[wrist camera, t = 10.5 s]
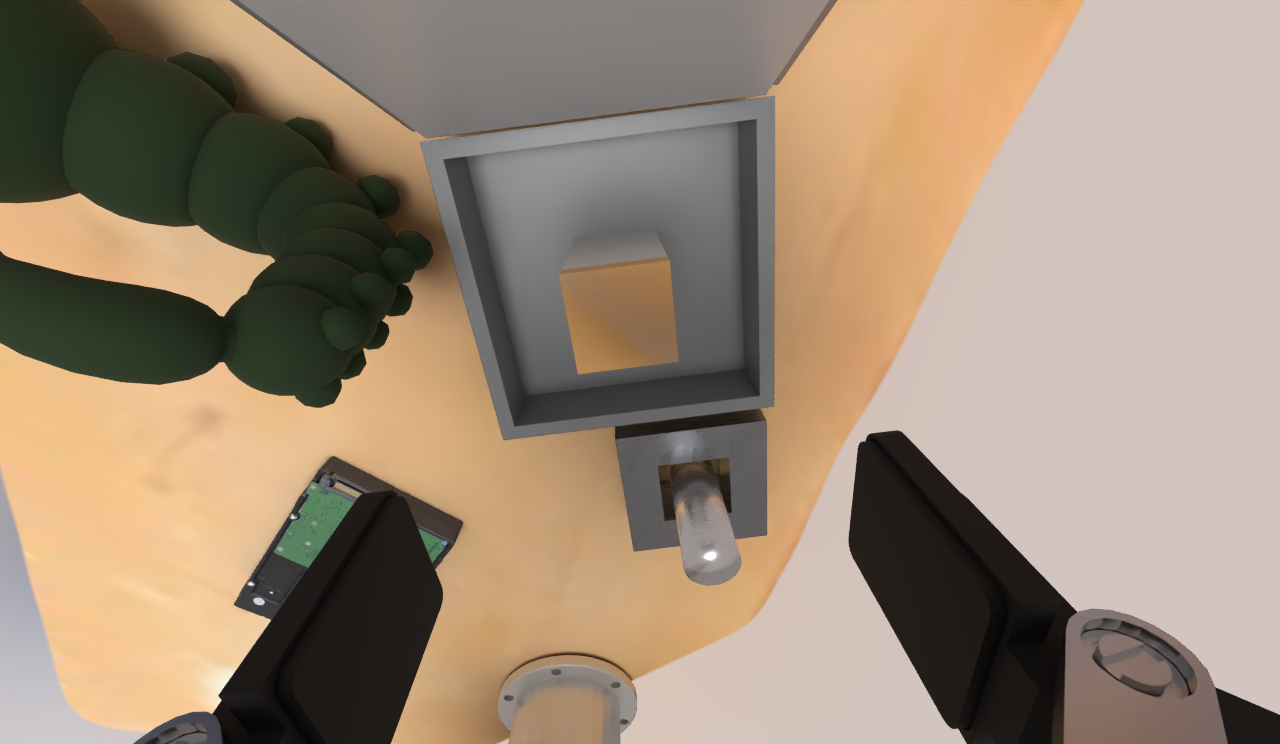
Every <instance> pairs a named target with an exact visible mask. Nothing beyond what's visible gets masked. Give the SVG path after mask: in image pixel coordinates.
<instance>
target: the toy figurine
mask: <svg viewBox="0 0 1280 744" xmlns="http://www.w3.org/2000/svg"><path fill="white" fill-rule="evenodd" d="M236 97H237V93H236V91H235V88H234V85H233V82H232V79H231V78H230V76H229V75H228V74H227V73H226V72H224V71H223V70H222V69H221V68H220V67H219V66H218V65H217V64H215V63H214V62H213V61H212V60H211V59H209V58H205V57H202V56H199V55H195V54H192V53H188V52H185V53H182V54H179V55H177V56H174V57H171V58H168V61H164V60H162V59H159V58H157V57H153V56H150V55H146V54H142V53H137V52H132V51H127V50H122V49H119V47H118V46H117V44H116V43H115V41H114V40H113V39H112V37H111V36H110V34H109V33H108V32H107V30H106V29H105V28H104V27H103V26H102V24H101V23H100V22H99V21H98V20H97V18H96V17H95V16H94V15H93V14H92V13H91V12H90V11H89V10H88V9H87V8H86V7H85V6H84V5H83V4H82V3H81V2H80V1H79V0H0V203H29V202H41V201H47V200H53V199H60V198H63V197H67V196H70V195H74V194H78V193H81V194H82V195H84V196H85V197H87V198H88V199H89V200H91V201H92V202H94V203H95V204H97V205H99V206H101V207H103V208H105V209H107V210H109V211H111V212H113V213H115V214H117V215H119V216H123V217H126V218H129V219H133V220H136V221H140V222H143V223H149V224H156V225H164V226H172V227H179V226H194V225H198V226H199V227H201V228H202V229H203V230H204V231H205V232H207V233H208V234H210V235H211V236H213V237H215V238H216V239H218V240H219V241H221V242H223V243H226V244H228V245H231V246H233V247H236V248H239V249H241V250H244V251H247V252H250V253H256V254H263V255H270V256H271V257H272V258H273V259H275V262H274V263H272V264H271V265H269V266H268V267H267V268H266V269H265V270H263V271H262V272H261V273H260V274H259V275H258V276H257V277H256V278H255V280H254V281H253V283H252V285H251V287H250V289H249V291H248V292H247V294H246V295H244V296H242V297H241V298H240V299H238V300H237V301H236V302H235V303H234V304H233V305H232V306H231V307H230V309H229V310H228V312H227V313H226V314H225V316H224V317H223V316H219V315H218V314H217V313H216V312H215V311H214V310H212V309H211V308H210V307H209V306H207V305H205V304H203V303H201V302H199V301H196V300H194V299H192V298H190V297H186V296H183V295H180V294H176V293H173V292H169V291H166V290H161V289H156V288H150V287H144V286H139V285H133V284H126V283H119V282H112V281H105V280H100V279H94V278H89V277H83V276H78V275H74V274H70V273H66V272H62V271H58V270H54V269H50V268H46V267H42V266H38V265H34V264H31V263H27V262H23V261H19V260H15V259H12V258H9V257H7V256H5V255H4V254H3V253H2V252H1V251H0V343H2V344H3V345H5V346H7V347H9V348H11V349H13V350H14V351H16V352H18V353H20V354H22V355H24V356H27V357H30V358H33V359H36V360H39V361H42V362H44V363H47V364H50V365H53V366H56V367H59V368H62V369H65V370H68V371H70V372H74V373H79V374H84V375H89V376H94V377H99V378H104V379H109V380H114V381H119V382H128V383H142V384H157V385H161V384H167V383H173V382H178V381H184V380H189V379H192V378H194V377H197V376H199V375H202V374H204V373H207V372H208V371H209V370H211V369H212V368H213V367H215V366H216V365H217V364H218V363H219V362H225V364H226V365H227V367H228V369H229V370H230V371H231V372H232V373H233V374H234V375H235V376H236V377H237V378H238V379H239V380H241V381H242V382H244V383H245V384H247V385H249V386H250V387H252V388H254V389H257V390H260V391H262V392H265V393H269V394H274V395H279V396H294V395H295V397H296V399H298V400H299V401H300V402H301V403H302V404H304V405H305V406H310V407H316V408H322V407H324V406H327V405H330V404H333V403H334V402H335V400H336V399H337V397H338V395H339V393H340V391H341V387H342V384H341V379H345V380H347V379H350V378H353V377H355V376H358V375H360V373H361V371H362V370H363V368H364V367H365V365H366V364H367V363H366V359H365V355H364V351H363V349H364V348H366V349H369V350H370V349H379V348H380V347H381V346H383V345H384V344H385V342H386V340H387V337H388V335H389V327H388V325H387V324H386V323H385V322H383V321H382V320H383V319H384V318H385V316H386V315H387V316H399V315H405V313H406V312H407V311H408V310H409V309H410V307H411V303H412V298H413V296H412V294H411V292H410V290H409V288H408V286H406V285H404V284H403V283H407V282H410V280H411V278H412V276H413V274H414V272H415V270H421V269H424V268H425V267H426V265H427V264H428V263H429V261H430V259H431V257H432V255H433V251H432V246H431V243H430V242H429V241H428V240H427V239H426V238H425V237H423V236H422V235H421V234H420V233H418V232H412V231H405V232H402V233H400V234H399V235H398V237H396V235H395V234H394V233H393V231H392V230H391V229H390V227H388V226H387V225H386V224H385V223H384V222H383V221H381V220H380V219H384V218H387V217H389V216H392V215H394V214H396V212H397V209H398V207H399V205H400V199H399V195H398V191H397V188H396V187H395V186H394V185H393V184H392V183H391V182H390V181H389V180H387V179H384V178H382V177H379V176H376V175H372V176H367V177H363V178H360V180H359V181H358V183H357V184H355V183H353V182H352V181H350V180H349V179H348V178H346V177H345V176H343V175H341V174H338V173H336V172H334V171H332V170H331V167H330V165H329V163H328V162H327V160H326V159H325V158H326V156H327V154H328V152H329V150H330V148H331V143H330V138H329V136H328V135H327V134H326V133H325V132H324V131H323V130H322V128H321V127H320V126H319V125H317V124H316V123H315V122H314V121H313V120H308V119H304V118H299V117H297V118H294V119H291V120H289V121H287V122H286V123H285V124H283V123H281V122H279V121H276V120H273V119H269V118H266V117H263V116H260V115H256V114H250V113H236V111H235V110H234V106H235V102H236ZM379 218H380V219H379Z"/></svg>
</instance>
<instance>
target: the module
mask: <svg viewBox="0 0 1280 744" xmlns="http://www.w3.org/2000/svg"><path fill="white" fill-rule="evenodd" d="M559 277H560V282H561V288H562V293H563V298H564V303H565V309H566V314H567V319H568V324H569V330H570V335H571V340H572V345H573V351H574V356H575V361H576V367H577V372H578V374H585V373H593V372H601V371H609V370H617V369H625V368H633V367H640V366H648V365H656V364H664V363H672V362H679V358H678V347H677V336H676V325H675V314H674V303H673V292H672V281H671V270H670V260H669V258H668V257H667V254H666V252H665V250H664V248H663V246H662V243H661V241H660V239H659V237H658V235H657V232H656V230H655V229H648V230H640V231H632V232H624V233H616V234H608V235H601V236H593V237H585V238H577V239H574V240H573V243H572V245H571V248H570V250H569V252H568V255H567V257H566V260H565V262H564V265H563V267H562V270H561V271H560V274H559Z"/></svg>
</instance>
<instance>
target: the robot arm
mask: <svg viewBox="0 0 1280 744" xmlns="http://www.w3.org/2000/svg"><path fill="white" fill-rule="evenodd" d="M849 547H850V551H851V554H852V557H853V559H854V560H855V562H856V564H857V566H858V568H859V569H860V571H861V573H862V575H863V576H864V578H865V580H866V582H867V584H868V586H869V587H870V589H871V591H872V593H873V595H874V596H875V598H876V600H877V602H878V603H879V605H880V607H881V609H882V611H883V612H884V614H885V616H886V618H887V620H888V621H889V623H890V625H891V627H892V628H893V630H894V632H895V634H896V636H897V637H898V639H899V641H900V643H901V645H902V646H903V648H904V650H905V652H906V654H907V655H908V657H909V659H910V661H911V662H912V664H913V666H914V668H915V669H916V671H917V673H918V675H919V677H920V679H921V680H922V682H923V684H924V686H925V687H926V689H927V691H928V693H929V695H930V696H931V698H932V700H933V702H934V704H935V705H936V707H937V709H938V711H939V713H940V714H941V716H942V718H943V719H944V721H945V722H946V723H947V725H948V726H949V727H951V728H952V729H957V728H958V729H959V730H960V732H961V734H962V736H963V737H964V739H965V741H966V743H967V744H1280V715H1279V714H1276V713H1274V712H1272V711H1269V710H1267V709H1265V708H1262V707H1260V706H1257V705H1255V704H1253V703H1251V702H1248V701H1246V700H1243V699H1241V698H1239V697H1237V696H1234V695H1232V694H1230V693H1227V692H1225V691H1223V690H1220V689H1218V688H1216V687H1215V686H1214V684H1213V681H1212V679H1211V677H1210V675H1209V672H1208V670H1207V669H1206V668H1205V667H1204V666H1203V664H1202V663H1201V662H1200V661H1199V659H1198V658H1197V657H1196V656H1195V655H1194V654H1193V653H1192V652H1191V651H1190V650H1188V649H1187V648H1186V647H1185V646H1184V645H1183V644H1181V643H1180V642H1179V641H1178V640H1177V639H1175V638H1174V637H1172V636H1171V635H1169V634H1167V633H1166V632H1164V631H1162V630H1161V629H1159V628H1157V627H1156V626H1154V625H1152V624H1150V623H1148V622H1145V621H1143V620H1141V619H1138V618H1136V617H1134V616H1131V615H1128V614H1123V613H1120V612H1116V611H1112V610H1104V609H1089V610H1084V611H1079V612H1077V611H1076V610H1075V609H1074V608H1073V607H1072V606H1071V605H1070V604H1069V603H1068V602H1067V601H1066V600H1065V599H1064V598H1063V597H1062V596H1061V595H1060V594H1059V593H1058V592H1057V591H1056V590H1055V588H1053V586H1051V584H1050V583H1049V582H1048V581H1047V580H1046V579H1045V578H1044V577H1043V576H1042V575H1041V574H1040V573H1039V572H1038V571H1037V570H1036V569H1035V568H1034V567H1033V566H1032V565H1031V564H1030V563H1029V562H1028V560H1027V559H1026V558H1025V557H1024V556H1023V555H1022V554H1021V553H1020V552H1019V551H1018V550H1017V549H1016V548H1015V547H1014V546H1013V545H1012V544H1011V543H1010V542H1009V541H1008V540H1007V539H1006V538H1005V537H1004V536H1003V535H1002V533H1001V532H1000V531H999V530H998V529H997V528H996V527H995V526H994V525H993V524H992V523H991V522H990V521H989V520H988V519H987V518H986V517H985V516H984V515H983V514H982V513H981V512H980V511H979V510H978V509H977V508H976V507H975V505H974V504H973V503H972V502H971V501H970V500H969V499H968V498H966V497H965V496H964V495H963V494H961V493H960V492H959V491H958V490H957V489H956V488H955V487H954V486H953V485H952V484H951V482H950V481H949V480H948V479H947V478H946V477H945V476H944V475H943V474H942V473H941V472H940V471H939V470H938V469H937V468H936V467H935V466H934V465H933V464H932V463H931V462H930V461H929V460H928V459H927V457H926V456H925V455H924V454H923V453H922V452H921V451H920V450H919V449H918V448H917V447H916V446H915V445H914V444H913V443H912V442H911V441H910V440H909V439H908V438H907V437H906V436H905V435H904V434H903V433H902V432H901V431H889V432H880V433H872V434H869V435H868V436H867V438H866V441H865V442H861V443H860V444H859V446H858V453H857V463H856V473H855V482H854V491H853V501H852V510H851V520H850V530H849ZM442 600H443V589H442V586H441V583H440V581H439V578H438V576H437V573H436V571H435V568H434V566H433V564H432V561H431V559H430V556H429V554H428V551H427V549H426V546H425V544H424V542H423V539H422V537H421V534H420V532H419V529H418V527H417V525H416V522H415V520H414V517H413V515H412V512H411V510H410V507H409V505H408V503H407V501H406V499H405V498H404V497H403V496H398V495H397V493H396V492H395V491H392V490H387V491H379V492H370V493H364V494H361V495H360V496H359V497H358V498H357V500H356V501H355V502H354V504H353V505H352V507H351V508H350V509H349V511H348V512H347V514H346V515H345V517H344V518H343V519H342V521H341V522H340V524H339V525H338V526H337V528H336V529H335V531H334V532H333V534H332V535H331V536H330V538H329V539H328V541H327V542H326V544H325V545H324V546H323V548H322V549H321V551H320V552H319V553H318V555H317V556H316V558H315V559H314V561H313V562H312V563H311V565H310V566H309V568H308V569H307V570H306V572H305V573H304V575H303V576H302V578H301V579H300V580H299V582H298V583H297V585H296V586H295V588H294V589H293V590H292V592H291V593H290V595H289V596H288V597H287V599H286V600H285V602H284V603H283V605H282V606H281V607H280V609H279V610H278V612H277V613H276V614H275V616H274V617H273V619H272V620H271V622H270V623H269V624H268V626H267V627H266V629H265V630H264V632H263V633H262V634H261V636H260V637H259V639H258V640H257V641H256V643H255V644H254V646H253V647H252V649H251V650H250V651H249V653H248V654H247V656H246V657H245V658H244V660H243V661H242V663H241V664H240V666H239V667H238V668H237V670H236V671H235V673H234V674H233V676H232V677H231V678H230V680H229V681H228V683H227V684H226V685H225V687H224V688H223V690H222V691H221V693H220V694H219V695H218V696H219V697H220V698H221V700H222V701H221V702H220V704H219V705H218V707H217V708H216V709H215V711H214V712H213V714H210V713H208V712H191V713H188V714H185V715H181V716H178V717H175V718H173V719H171V720H169V721H167V722H165V723H163V724H162V725H160V726H158V727H156V728H154V729H153V730H152V731H150V732H149V733H147V734H146V735H144V736H143V737H142V738H140V739H139V740H137V741H136V742H135V743H134V744H391V742H392V739H393V736H394V733H395V731H396V728H397V725H398V722H399V720H400V717H401V714H402V712H403V709H404V706H405V703H406V701H407V698H408V695H409V692H410V690H411V687H412V684H413V682H414V679H415V676H416V673H417V671H418V668H419V665H420V663H421V660H422V657H423V654H424V652H425V649H426V646H427V643H428V641H429V638H430V635H431V633H432V630H433V627H434V624H435V622H436V619H437V616H438V614H439V611H440V608H441V605H442ZM497 707H498V715H499V717H500V720H501V722H502V723H503V724H504V726H505V727H506V728H507V730H509V731H510V732H511V733H510V738H509V744H620V733H622V732H623V731H624V730H625V729H626V728H627V727H628V726H629V725H630V724H631V722H632V721H633V719H634V717H635V714H636V710H637V695H636V690H635V687H634V685H633V683H632V681H631V680H630V679H629V677H628V676H627V675H626V674H625V673H624V672H622V671H621V670H620V669H618V668H617V667H615V666H614V665H611V664H609V663H607V662H605V661H602V660H599V659H596V658H592V657H586V656H580V655H560V656H551V657H547V658H542V659H539V660H536V661H533V662H530V663H528V664H526V665H524V666H523V667H521V668H519V669H517V670H516V671H515V672H514V673H512V674H511V675H510V676H509V677H508V678H507V680H506V681H505V682H504V684H503V686H502V688H501V691H500V694H499V700H498V705H497Z"/></svg>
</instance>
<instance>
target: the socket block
mask: <svg viewBox="0 0 1280 744" xmlns="http://www.w3.org/2000/svg"><path fill="white" fill-rule="evenodd" d="M615 440H616V446H617V452H618V458H619V464H620V470H621V476H622V483H623V489H624V495H625V501H626V507H627V513H628V519H629V525H630V531H631V538H632V544H633V550H634V551H642V550H651V549H659V548H667V547H675V546H680V540H679V534H678V528H677V521H676V515H675V509H674V503H673V497H672V490H671V484H670V481H667V482H660V480H659V471H658V466H663V465H671V464H680V463H688V462H696V461H704V460H712V459H719V469H720V475H716V477H717V481H718V484H719V487H720V491H721V494H722V497H723V501H724V504H725V507H726V511H727V514H728V517H729V521H730V524H731V527H732V531H733V534H734V537H735V539H740V538H748V537H756V536H765V535H767V422H766V419H765V417H764V415H763V413H762V411H761V410H760V408H759V409H750V410H742V411H734V412H726V413H718V414H710V415H702V416H694V417H686V418H678V419H670V420H662V421H654V422H646V423H638V424H630V425H622V426H615Z"/></svg>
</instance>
